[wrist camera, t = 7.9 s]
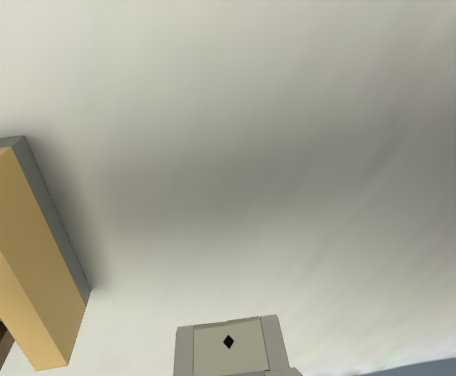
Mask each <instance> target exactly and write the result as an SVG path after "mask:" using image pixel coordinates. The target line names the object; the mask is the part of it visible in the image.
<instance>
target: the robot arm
mask: <svg viewBox="0 0 456 376" xmlns="http://www.w3.org/2000/svg"><path fill="white" fill-rule="evenodd" d="M173 376H303V375H302V374H301V373H300V372H299V371H298V370H297V369H296V368H295V367H293V368H290V366H289V362H288V357H287V353H286V349H285V345H284V341H283V336H282V332H281V328H280V324H279V320H278V317H277V315H276V314H274V315H267V316H261V317H259V316H256V317H250V318H243V319H236V320H229V321H226V322H217V323H208V324H199V325H189V326H181V327H178V328H177V332H176V342H175V357H174V372H173Z"/></svg>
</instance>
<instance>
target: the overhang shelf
mask: <svg viewBox="0 0 456 376" xmlns="http://www.w3.org/2000/svg"><path fill="white" fill-rule="evenodd" d="M14 341H15V339H14V338H13V336H12V335H11V333H10V332H9V330H8V329H7V327H6V326H5V324H4V323H3V321H0V370H1V368H2V366H3V364H4V362H5V360H6V358H7V356H8V353H9V351H10V349H11V347H12V345H13V343H14Z"/></svg>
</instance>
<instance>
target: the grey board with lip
mask: <svg viewBox="0 0 456 376" xmlns="http://www.w3.org/2000/svg"><path fill="white" fill-rule="evenodd" d="M90 293H91V288H90V286H89V284H88V282H87V279H86V277H85V275H84V272H83V270H82V268H81V265H80V263H79V261H78V259H77V256H76V254H75V252H74V249H73V247H72V245H71V242H70V240H69V238H68V235H67V233H66V231H65V229H64V226H63V224H62V222H61V219H60V217H59V215H58V212H57V210H56V208H55V206H54V203H53V201H52V199H51V196H50V194H49V192H48V189H47V187H46V185H45V182H44V180H43V178H42V176H41V173H40V171H39V169H38V166H37V164H36V162H35V159H34V157H33V155H32V152H31V150H30V148H29V146H28V143H27V141H26V139H25V136H24V135H23V136H15V137H8V138H0V321H3V323H4V324H5V326H6V327H7V329H8V330H9V332H10V333H11V335H12V336H13V338H14V339H15V341H16V342H17V344H18V345H19V347H20V348H21V350H22V351H23V353H24V354H25V356H26V357H27V359H28V360H29V362H30V363H31V365H32V366H33V367H34V369H35V370H36V371H41V370H47V369H53V368H59V367H65V366H68V364H69V361H70V357H71V354H72V351H73V348H74V345H75V341H76V338H77V335H78V332H79V328H80V325H81V322H82V319H83V315H84V312H85V309H86V306H87V303H88V299H89V296H90Z"/></svg>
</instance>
